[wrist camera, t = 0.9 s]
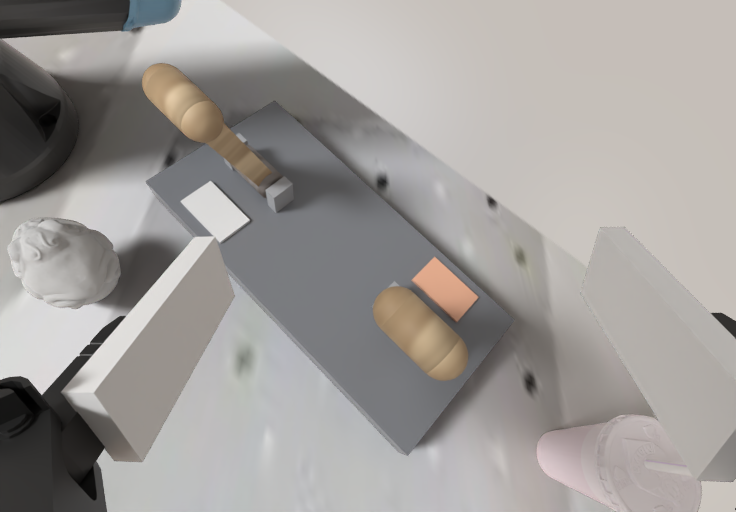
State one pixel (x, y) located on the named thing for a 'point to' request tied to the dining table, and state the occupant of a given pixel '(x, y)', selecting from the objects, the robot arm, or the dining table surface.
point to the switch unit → (331, 268)
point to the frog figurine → (64, 262)
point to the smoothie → (621, 465)
